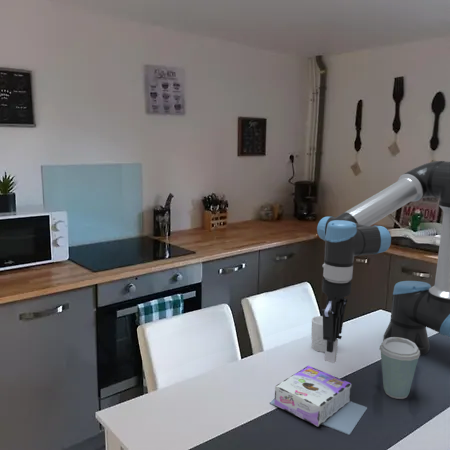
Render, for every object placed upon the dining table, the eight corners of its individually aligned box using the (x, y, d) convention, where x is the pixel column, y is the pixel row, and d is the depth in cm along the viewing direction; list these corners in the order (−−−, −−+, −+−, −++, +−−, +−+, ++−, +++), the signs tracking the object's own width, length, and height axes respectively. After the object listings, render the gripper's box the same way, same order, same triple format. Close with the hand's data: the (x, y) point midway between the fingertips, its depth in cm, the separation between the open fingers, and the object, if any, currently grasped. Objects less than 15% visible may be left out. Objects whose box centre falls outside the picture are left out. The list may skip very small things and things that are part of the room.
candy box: (307, 383, 134) (272, 405, 122) (308, 364, 133) (274, 384, 121) (350, 402, 125) (317, 428, 113) (352, 382, 124) (319, 406, 112)
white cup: (315, 340, 163) (317, 314, 161) (336, 347, 158) (339, 319, 156) (306, 348, 156) (307, 321, 154) (327, 355, 152) (329, 327, 150)
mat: (292, 382, 135) (292, 381, 135) (367, 408, 123) (367, 407, 122) (269, 403, 123) (269, 402, 123) (349, 435, 111) (349, 434, 111)
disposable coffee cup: (417, 406, 124) (423, 355, 121) (375, 399, 127) (380, 349, 124) (413, 387, 134) (419, 339, 131) (374, 380, 137) (379, 333, 134)
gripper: (332, 270, 129) (326, 348, 134) (314, 282, 118) (307, 366, 123) (359, 276, 125) (351, 356, 129) (342, 288, 114) (334, 374, 119)
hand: (330, 360), depth 126 cm, fingers closed
